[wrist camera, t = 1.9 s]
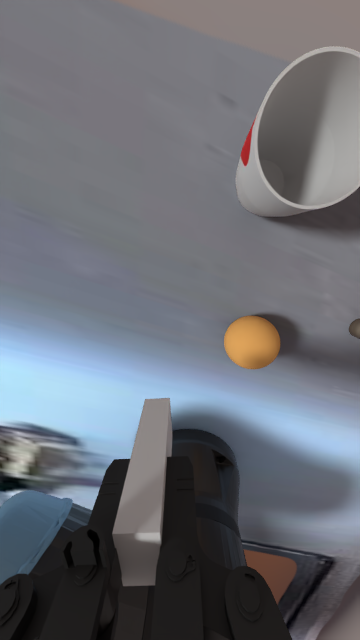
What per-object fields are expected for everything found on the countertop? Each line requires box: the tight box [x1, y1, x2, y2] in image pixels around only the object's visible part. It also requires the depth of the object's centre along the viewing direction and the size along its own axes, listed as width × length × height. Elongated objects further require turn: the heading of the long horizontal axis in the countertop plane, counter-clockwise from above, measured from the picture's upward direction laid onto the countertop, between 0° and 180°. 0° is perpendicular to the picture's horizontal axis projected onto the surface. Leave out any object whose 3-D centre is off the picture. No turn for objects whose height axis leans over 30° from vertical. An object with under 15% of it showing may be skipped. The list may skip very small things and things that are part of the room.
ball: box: [224, 316, 280, 369], centre depth 24 cm, size 6×6×6 cm
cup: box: [236, 46, 360, 217], centre depth 18 cm, size 8×8×10 cm
